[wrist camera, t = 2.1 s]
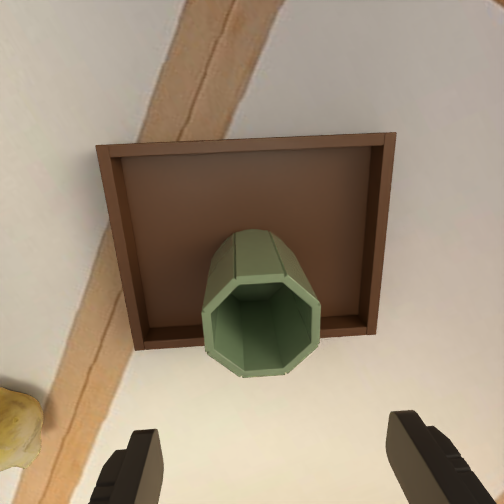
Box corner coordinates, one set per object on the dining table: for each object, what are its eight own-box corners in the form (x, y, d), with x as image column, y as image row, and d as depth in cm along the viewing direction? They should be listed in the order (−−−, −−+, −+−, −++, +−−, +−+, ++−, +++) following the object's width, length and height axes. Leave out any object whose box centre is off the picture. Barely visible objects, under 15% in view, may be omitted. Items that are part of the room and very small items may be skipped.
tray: (379, 133, 24) (396, 132, 21) (364, 318, 29) (376, 334, 26) (110, 144, 23) (95, 145, 20) (143, 332, 28) (134, 350, 26)
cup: (292, 226, 25) (322, 271, 16) (292, 300, 27) (319, 372, 19) (209, 231, 25) (197, 278, 16) (216, 304, 27) (208, 380, 18)
